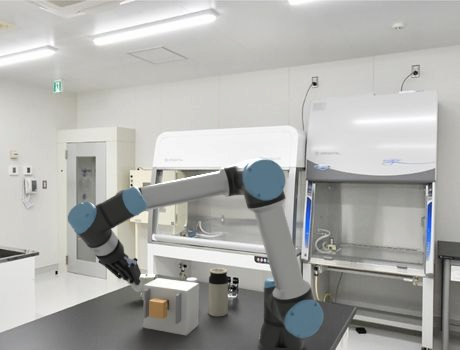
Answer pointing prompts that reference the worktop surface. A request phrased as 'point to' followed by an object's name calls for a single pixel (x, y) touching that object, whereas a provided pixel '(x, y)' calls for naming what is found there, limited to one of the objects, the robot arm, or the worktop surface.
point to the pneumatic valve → (146, 281)
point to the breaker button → (158, 308)
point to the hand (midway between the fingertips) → (139, 288)
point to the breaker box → (173, 305)
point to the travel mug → (218, 292)
